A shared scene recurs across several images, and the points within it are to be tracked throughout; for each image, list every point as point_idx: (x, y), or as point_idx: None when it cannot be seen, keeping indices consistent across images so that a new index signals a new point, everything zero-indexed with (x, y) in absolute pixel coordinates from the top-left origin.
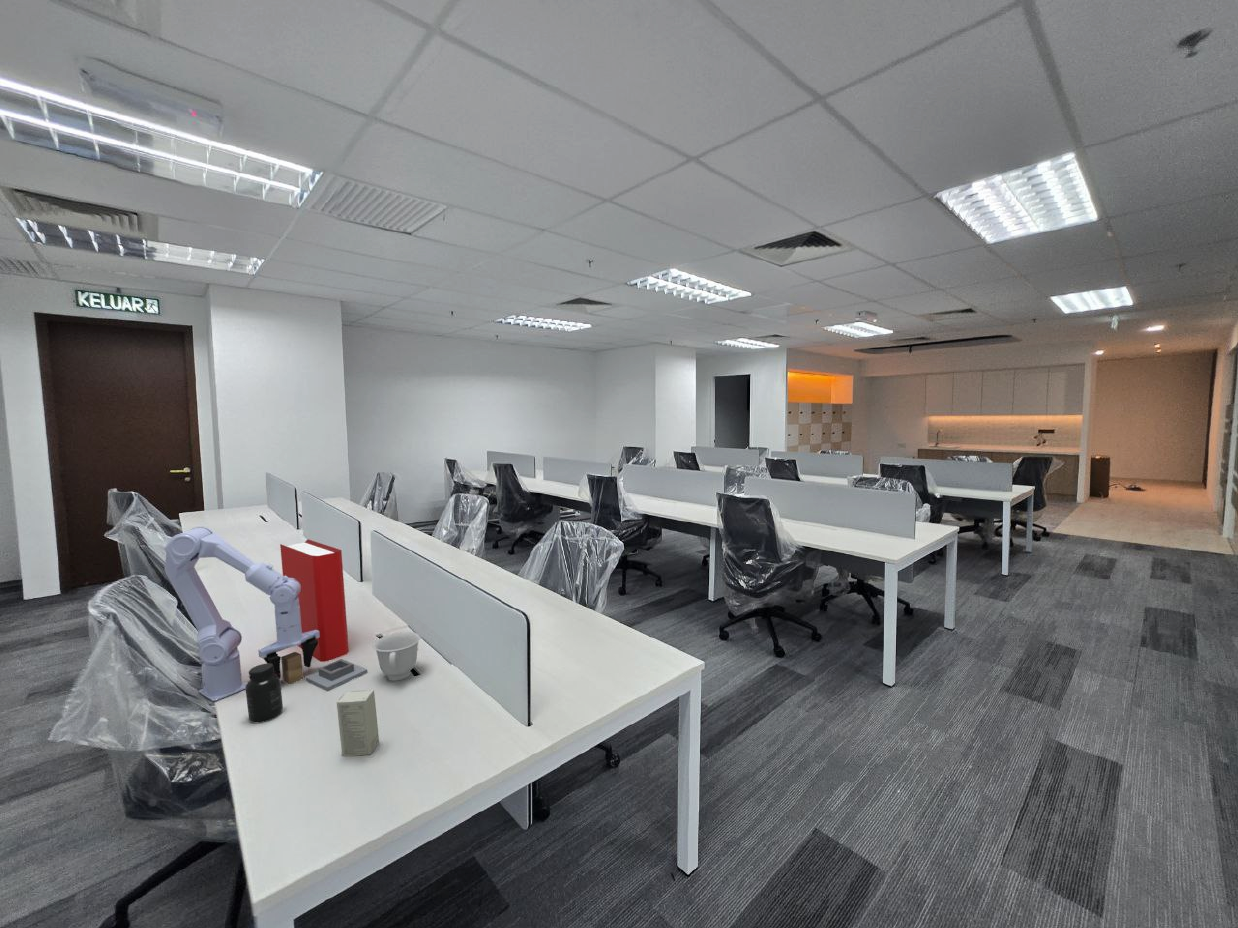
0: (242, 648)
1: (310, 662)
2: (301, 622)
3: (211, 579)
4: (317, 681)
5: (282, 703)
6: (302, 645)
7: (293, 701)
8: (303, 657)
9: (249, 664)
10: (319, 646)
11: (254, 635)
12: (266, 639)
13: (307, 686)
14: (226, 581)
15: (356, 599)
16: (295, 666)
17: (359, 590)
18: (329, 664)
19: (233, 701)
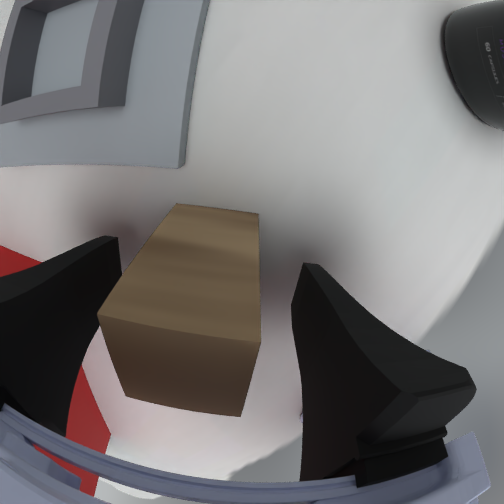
0: (189, 463)
1: (88, 242)
2: (62, 466)
3: (144, 497)
4: (186, 30)
5: (466, 9)
6: (59, 398)
7: (383, 17)
8: (98, 322)
9: (221, 436)
10: None
11: (154, 466)
12: (143, 454)
13: (230, 77)
14: (135, 493)
15: None
16: (195, 260)
17: None
18: (40, 103)
19: (430, 304)
